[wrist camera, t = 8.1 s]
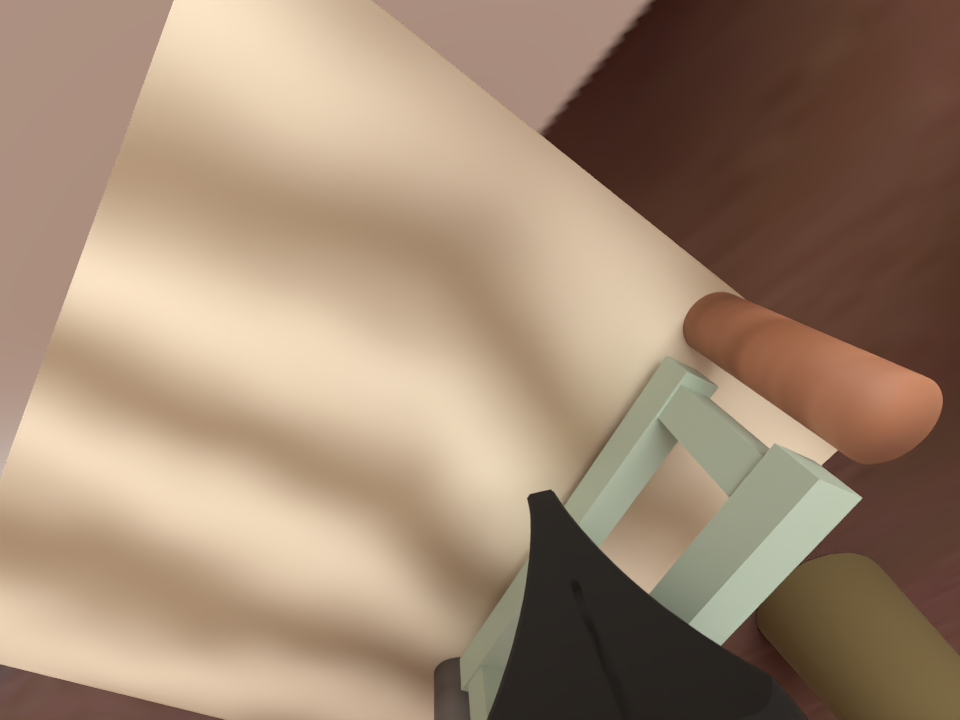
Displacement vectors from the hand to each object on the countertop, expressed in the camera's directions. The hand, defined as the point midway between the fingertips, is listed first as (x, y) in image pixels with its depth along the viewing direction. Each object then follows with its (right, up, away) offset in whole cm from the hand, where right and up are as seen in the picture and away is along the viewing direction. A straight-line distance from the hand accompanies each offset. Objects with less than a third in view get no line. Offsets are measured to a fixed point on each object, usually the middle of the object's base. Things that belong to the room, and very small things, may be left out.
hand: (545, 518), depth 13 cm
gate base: (-5, -2, +4) cm, 6 cm away
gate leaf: (+1, -2, +4) cm, 4 cm away
